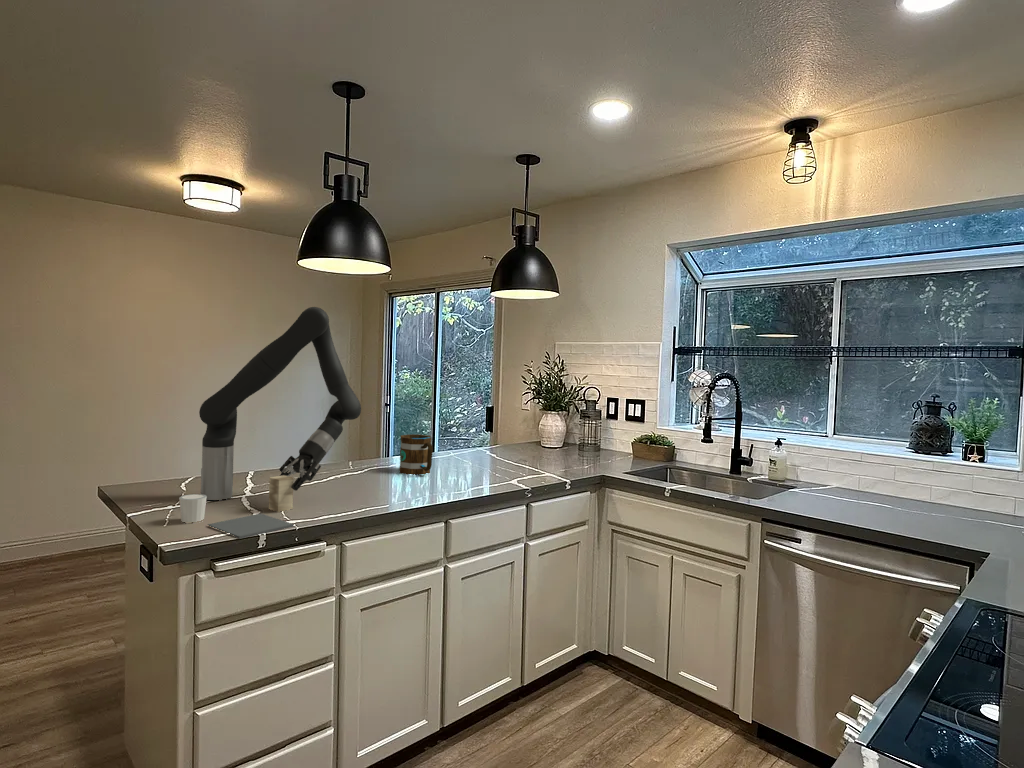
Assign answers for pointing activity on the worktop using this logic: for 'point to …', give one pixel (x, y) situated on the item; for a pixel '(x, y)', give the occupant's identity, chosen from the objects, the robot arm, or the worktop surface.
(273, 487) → the birch block
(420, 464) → the mug
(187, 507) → the white tapered cup
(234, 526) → the slate mat
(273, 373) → the robot arm
